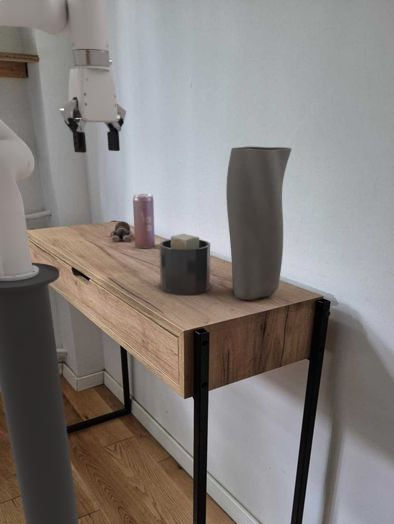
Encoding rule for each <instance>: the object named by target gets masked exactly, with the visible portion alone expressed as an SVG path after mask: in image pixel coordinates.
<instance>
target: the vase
mask: <svg viewBox="0 0 394 524" xmlns="http://www.w3.org/2000/svg"><path fill="white" fill-rule="evenodd" d="M291 153H292V147H283V146H281V147H280V146H276V147H275V146H273V147H272V146H271V147H269V146H241V147H240V146H239V147H232V148H231V149H230V156H229V160H228V166H227V174H226V186H225V187H226V188H225V189H226V192H225V193H226V211H227V223H228V232H229V241H230V242H229V245H230V254H231V255H230V257H231V279H232V280H231V281H232V282H231V283H232V291H233V295H234V297H235V298H236V299H239V300H243V301H254V300H258V299H260V298H265V297H269V296H271V295H273V294H275V292H277V290H278V289H279V286H280V279H281V272H282V264H283V254H284V253H283V252H284V216H283V215H284V214H283V185H284V179H285V174H286V173H285V172H286V168H287V165H288V161H289V159H290V155H291Z"/></svg>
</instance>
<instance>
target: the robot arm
mask: <svg viewBox="0 0 394 524" xmlns="http://www.w3.org/2000/svg"><path fill="white" fill-rule="evenodd" d="M107 12H108V11H107V0H0V27H17V28H28V29H29V28H31V29H36V30H39V31H42V32H43V33H44V32H45V33H47V34H49V35H51V36H55V37H66V36H70V48H71V56H72V58H71V60H72V68H70V69H69V74H68V75H69V76H68V102H67V103H65V105H63V106H61V107H60V108H59V112H60V114H61V116H62V118H63V119H64V123H65V125H66V126H67V127H68V129H69V132H71V133H72V142H73V143H72V144H73V151H74V152H75V153H81V154H85V153H86V152H87V143H86V133H85V132H84V131H83V130H84V128H85V126H86V124H87V123H104V125H105V126H106V127H107V129H108V131H107V133H106V136H107V138H106V139H107V149H108V151H109V152H120V150H121V148H120V147H121V146H120V145H121V144H120V132H122V127H123V125H124V123H125V118H126V113H127V111H126V110H125V109H124V108H123V107H122V106H120V104H118V101H117V100H118V99H117V91H116V86H115V81H114V80H115V79H114V75H113V71H112V70H111V66H112V64H113V60H112V59H111V58H110V47H109V46H110V45H109V31H108V28H109V27H108V13H107ZM35 164H36V163H35V158H34V155H33V152H32V150H31V148H30V147H29V146H28V145H27V144H26V142H24V140H23V139H22V138H21V137H20V136H19V135H17V133H15V131H13V130H12V129H11V128H10V127H9V126H8V125H7V124H6V123H5V122H4V121H3V120H2V119H1V118H0V281H18V280H24V279H28V278H32V277H34V276H36V275H38V273H39V268H38V267H37V266H34V265H32V263H33V262H32V256H31V250H30V249H31V248H30V242H29V236H28V235H29V233H28V228H27V221H26V213H25V207H24V201H23V197H22V194H21V192H20V189H19V186H18V184H17V182H18V181H23V180H25V179H27V178H28V177H30V176H31V175H32V174H33V172H34V169H35Z"/></svg>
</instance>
